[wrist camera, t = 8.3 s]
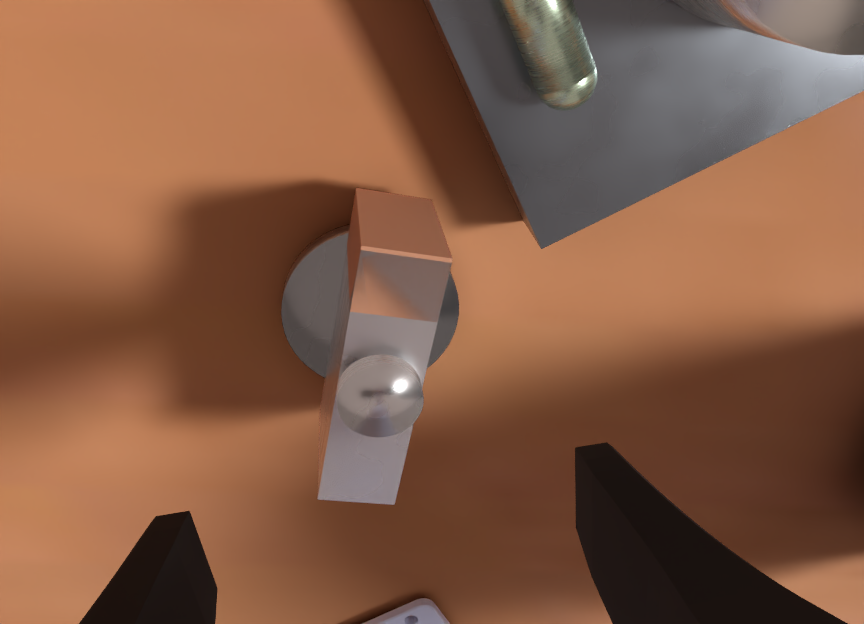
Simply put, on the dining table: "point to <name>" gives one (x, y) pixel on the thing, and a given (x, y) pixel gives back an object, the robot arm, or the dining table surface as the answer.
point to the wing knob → (371, 336)
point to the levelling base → (639, 89)
